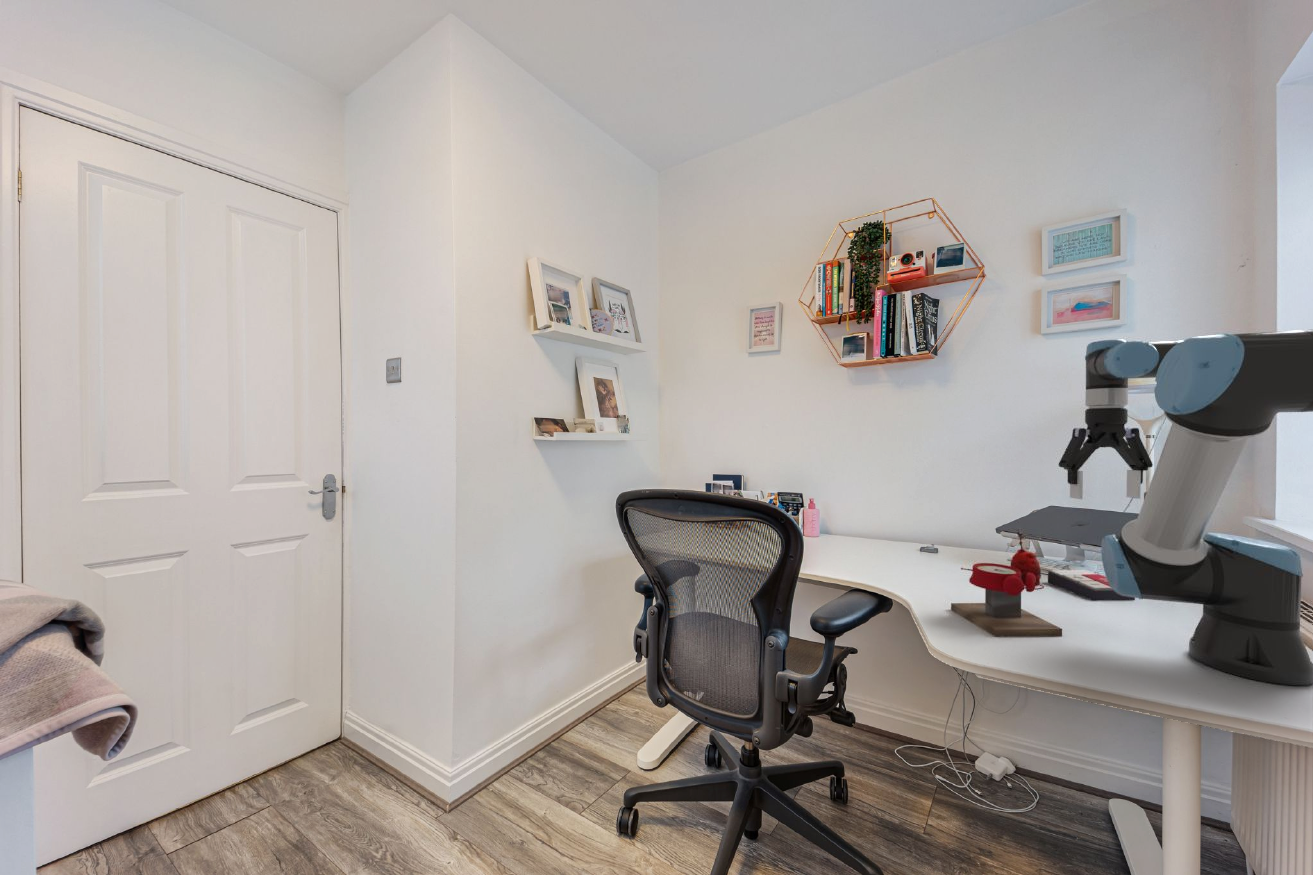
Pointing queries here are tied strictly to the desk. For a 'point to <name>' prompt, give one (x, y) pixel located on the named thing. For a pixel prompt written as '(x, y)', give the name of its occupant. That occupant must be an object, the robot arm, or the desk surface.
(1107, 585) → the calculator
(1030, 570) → the red clay folk toy
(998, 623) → the stand
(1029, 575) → the alarm clock
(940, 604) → the desk surface
